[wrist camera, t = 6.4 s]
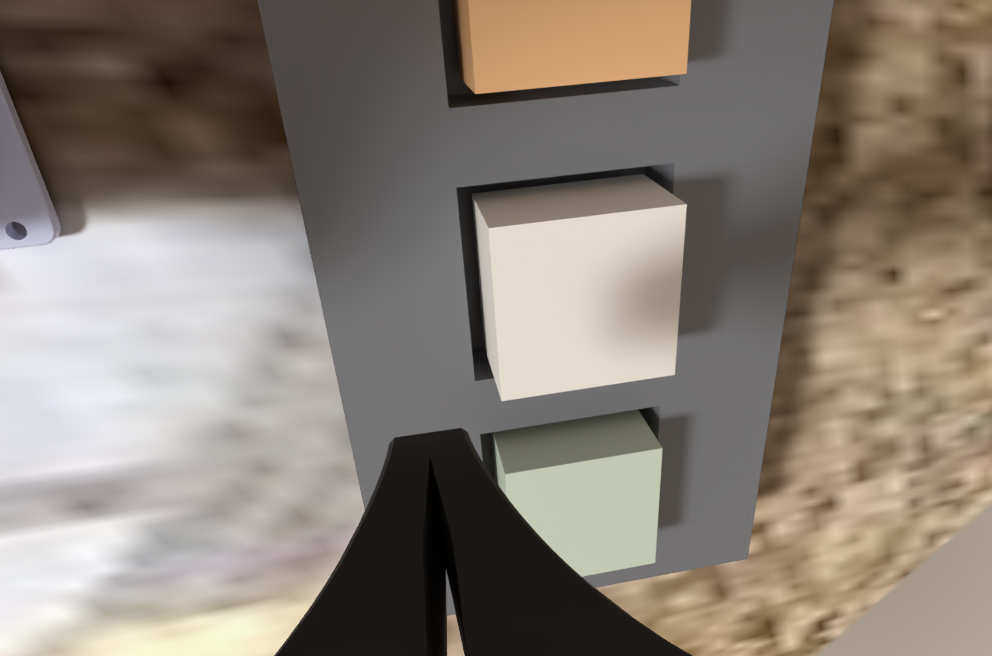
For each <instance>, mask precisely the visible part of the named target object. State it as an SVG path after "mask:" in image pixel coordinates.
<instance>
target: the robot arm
mask: <svg viewBox="0 0 992 656" xmlns="http://www.w3.org/2000/svg"><path fill="white" fill-rule="evenodd" d="M12 222H18V223H20V224H22V225H23V226H24V227H25V228H26V230H27V235H21V234H19V233H17V232H16V231H15V230H14V229H13V227H12ZM60 231H61V227H60V222H59V219H58V217H57V214H56V212H55V209H54V206H53V204H52V201H51V199H50V196H49V194H48V191H47V189H46V186H45V183H44V181H43V178H42V176H41V173H40V171H39V168H38V166H37V163H36V161H35V158H34V155H33V153H32V150H31V148H30V145H29V143H28V140H27V138H26V135H25V132H24V130H23V127H22V125H21V122H20V120H19V117H18V115H17V112H16V110H15V107H14V104H13V102H12V99H11V97H10V94H9V92H8V89H7V87H6V84H5V81H4V79H3V76H2V74H1V71H0V250H5V249H14V248H23V247H31V246H40V245H45V244H48V243H51V242H52V241H53V240H54V239H55V238H56V237H58V236H59V234H60ZM446 571H447V576H448V580H449V585H450V590H451V594H452V599H453V603H454V608H455V613H456V617H457V622H458V626H459V631H460V636H461V640H462V645H463V650H464V654H465V656H692V655H690V654H689V653H687V652H685V651H683V650H682V649H680V648H678V647H677V646H675V645H673V644H671V643H670V642H668V641H667V640H665V639H663V638H662V637H661V636H659V635H658V634H656V633H655V632H653V631H652V630H650V629H649V628H647V627H646V626H644V625H643V624H642V623H640V622H639V621H637V620H636V619H634V618H633V617H631V616H630V615H629V614H628V613H626V612H625V611H624V610H622V609H621V608H620V607H619V606H617V605H616V604H615V603H614V602H612V601H611V600H610V599H608V598H607V597H606V596H605V595H603V594H602V593H601V592H599V591H598V590H597V589H596V588H594V587H593V586H592V585H591V584H589V583H588V582H587V581H586V580H585V579H584V578H583V577H581V576H580V575H579V574H578V573H577V572H576V571H575V570H574V569H572V568H571V567H570V566H569V565H568V564H567V563H566V562H565V561H564V560H563V559H562V558H561V557H560V556H559V555H558V554H557V553H556V552H555V551H554V550H553V549H552V548H551V547H550V546H549V545H548V544H547V543H546V542H545V541H544V540H543V539H542V538H541V537H540V536H539V535H538V534H537V533H536V532H535V530H534V529H533V528H532V527H531V526H530V525H529V523H528V522H527V521H526V520H525V519H524V518H523V517H522V515H521V514H520V513H519V512H518V511H517V509H516V508H515V507H514V506H513V504H512V503H511V502H510V500H509V499H508V498H507V496H506V495H505V494H504V492H503V491H502V490H501V488H500V487H499V486H498V484H497V483H496V482H495V480H494V479H493V477H492V476H491V474H490V473H489V471H488V470H487V468H486V466H485V465H484V463H483V462H482V460H481V458H480V457H479V455H478V453H477V451H476V449H475V448H474V446H473V443H472V441H471V439H470V437H469V434H468V432H467V431H465V430H464V429H463V428H456V429H449V430H442V431H436V432H429V433H422V434H415V435H408V436H401V437H395V438H394V439H393V440H392V441H391V442H390V443H389V447H388V452H387V455H386V459H385V462H384V465H383V468H382V471H381V474H380V476H379V479H378V482H377V484H376V487H375V489H374V492H373V494H372V496H371V498H370V501H369V503H368V505H367V508H366V510H365V512H364V514H363V517H362V519H361V521H360V523H359V525H358V527H357V529H356V531H355V533H354V534H353V536H352V538H351V540H350V542H349V544H348V546H347V548H346V550H345V552H344V554H343V555H342V557H341V559H340V561H339V563H338V564H337V566H336V568H335V569H334V571H333V573H332V574H331V576H330V578H329V579H328V581H327V583H326V584H325V586H324V587H323V589H322V590H321V592H320V593H319V595H318V596H317V598H316V600H315V601H314V603H313V604H312V606H311V607H310V608H309V610H308V611H307V613H306V614H305V615H304V617H303V618H302V619H301V621H300V622H299V624H298V625H297V626H296V628H295V629H294V631H293V632H292V633H291V635H290V636H289V637H288V639H287V640H286V641H285V643H284V644H283V645H282V647H281V648H280V649H279V650H278V652H277V653H276V654H275V655H274V656H447V608H446Z"/></svg>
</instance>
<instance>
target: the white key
mask: <svg viewBox="0 0 992 656" xmlns="http://www.w3.org/2000/svg"><path fill="white" fill-rule="evenodd" d="M472 204H473V216H474V228H475V239H476V251H477V263H478V274H479V286H480V298H481V309H482V321H483V333H484V344H485V351H486V354H487V357H488V360H489V363H490V366H491V370H492V373H493V376H494V379H495V382H496V385H497V388H498V392H499V395H500V398H501V401H507V400H513V399H520V398H526V397H533V396H540V395H546V394H553V393H559V392H566V391H572V390H579V389H585V388H592V387H599V386H605V385H612V384H618V383H625V382H631V381H638V380H644V379H651V378H658V377H664V376H671V375H675V365H676V351H677V337H678V322H679V308H680V294H681V280H682V266H683V252H684V237H685V223H686V209H687V204H686V203H684V202H683V201H681V200H680V199H679V198H677V197H676V196H674V195H673V194H671V193H670V192H668V191H667V190H666V189H664V188H663V187H661V186H660V185H658V184H657V183H655V182H654V181H653V180H651V179H650V178H648V177H647V176H645V175H644V174H639V175H630V176H621V177H612V178H604V179H595V180H586V181H577V182H569V183H560V184H551V185H542V186H534V187H525V188H516V189H508V190H499V191H490V192H481V193H473V194H472Z"/></svg>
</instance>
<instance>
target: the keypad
mask: <svg viewBox="0 0 992 656" xmlns="http://www.w3.org/2000/svg"><path fill="white" fill-rule="evenodd" d="M257 2H258V7H259V12H260V16H261V21H262V26H263V30H264V35H265V40H266V45H267V49H268V54H269V59H270V64H271V68H272V73H273V78H274V82H275V87H276V92H277V97H278V101H279V106H280V111H281V116H282V120H283V125H284V130H285V134H286V139H287V144H288V149H289V153H290V158H291V163H292V168H293V172H294V177H295V182H296V187H297V191H298V196H299V201H300V205H301V210H302V215H303V220H304V224H305V229H306V234H307V239H308V243H309V248H310V253H311V257H312V262H313V267H314V272H315V276H316V281H317V286H318V291H319V295H320V300H321V305H322V309H323V314H324V319H325V324H326V328H327V333H328V338H329V343H330V347H331V352H332V357H333V361H334V366H335V371H336V376H337V380H338V385H339V390H340V395H341V399H342V404H343V409H344V414H345V418H346V423H347V428H348V432H349V437H350V442H351V447H352V451H353V456H354V461H355V466H356V470H357V475H358V480H359V484H360V489H361V494H362V499H363V503H364V508H365V510H366V508H367V505H368V503H369V501H370V498H371V496H372V494H373V492H374V489H375V487H376V484H377V482H378V479H379V476H380V474H381V471H382V468H383V465H384V462H385V459H386V455H387V452H388V447H389V443H390V442H391V441H392V440H393V439H394V438H395V437H401V436H408V435H415V434H422V433H429V432H436V431H442V430H449V429H456V428H463V429H464V430H465V431H467V432H468V434H469V437H470V439H471V441H472V443H473V446H474V448H475V449H476V451H477V453H478V455H479V457H480V458H481V460H482V462H483V463H484V465H485V466H486V468H487V470H488V471H489V473H490V474H491V476H492V477H493V479H494V468H493V456H492V445H491V432H497V431H504V430H510V429H516V428H523V427H529V426H535V425H542V424H548V423H554V422H561V421H567V420H573V419H580V418H586V417H592V416H599V415H605V414H611V413H618V412H624V411H630V410H637V409H638V410H639V412H640V413H641V415H642V417H643V418H644V420H645V421H646V423H647V424H648V426H649V428H650V429H651V431H652V432H653V434H654V435H655V437H656V439H657V440H658V442H659V443H660V445H661V447H662V448H663V449H662V464H661V480H660V496H659V511H658V527H657V542H656V558H655V563H652V564H647V565H641V566H636V567H631V568H625V569H620V570H615V571H609V572H604V573H599V574H593V575H588V576H583V578H584V579H585V580H586V581H587V582H588V583H589V584H591V585H592V586H593V587H594V588H596V587H601V586H607V585H612V584H617V583H623V582H628V581H633V580H638V579H644V578H649V577H654V576H660V575H665V574H670V573H675V572H681V571H686V570H691V569H696V568H702V567H707V566H712V565H718V564H723V563H728V562H733V561H739V560H744V559H747V558H748V552H749V545H750V539H751V533H752V526H753V520H754V513H755V507H756V500H757V494H758V487H759V481H760V474H761V468H762V462H763V455H764V449H765V442H766V436H767V429H768V423H769V416H770V410H771V403H772V397H773V390H774V384H775V378H776V371H777V365H778V358H779V352H780V345H781V339H782V332H783V326H784V319H785V313H786V306H787V300H788V294H789V287H790V281H791V274H792V268H793V261H794V255H795V248H796V242H797V235H798V229H799V223H800V216H801V210H802V203H803V197H804V190H805V184H806V177H807V171H808V164H809V158H810V151H811V145H812V139H813V132H814V126H815V119H816V113H817V106H818V100H819V93H820V87H821V80H822V74H823V67H824V61H825V55H826V48H827V42H828V35H829V29H830V22H831V16H832V9H833V3H834V0H691V13H690V28H689V44H688V59H687V74H679V75H669V76H658V77H648V78H638V79H627V80H617V81H607V82H596V83H586V84H576V85H565V86H555V87H545V88H534V89H524V90H514V91H503V92H493V93H483V94H475V93H474V92H473V91H472V90H471V89H470V88H469V87H468V86H467V85H466V84H465V83H464V82H463V81H462V80H461V79H460V78H459V66H458V55H457V43H456V32H455V21H454V9H453V0H257ZM639 174H644V175H645V176H647V177H648V178H650V179H651V180H653V181H654V182H655V183H657V184H658V185H660V186H661V187H663V188H664V189H666V190H667V191H668V192H670V193H671V194H673V195H674V196H676V197H677V198H679V199H680V200H681V201H683V202H684V203H686V204H687V209H686V223H685V237H684V252H683V266H682V280H681V294H680V308H679V322H678V337H677V351H676V365H675V375H671V376H664V377H658V378H651V379H644V380H638V381H631V382H625V383H618V384H612V385H605V386H599V387H592V388H585V389H579V390H572V391H566V392H559V393H553V394H546V395H540V396H533V397H526V398H520V399H513V400H507V401H501V398H500V395H499V392H498V388H497V385H496V382H495V379H494V376H493V373H492V370H491V366H490V363H489V360H488V357H487V354H486V351H485V344H484V333H483V321H482V309H481V298H480V286H479V274H478V263H477V251H476V239H475V228H474V216H473V204H472V194H473V193H481V192H490V191H499V190H508V189H516V188H525V187H534V186H542V185H551V184H560V183H569V182H577V181H586V180H595V179H604V178H612V177H621V176H630V175H639ZM494 480H495V479H494ZM446 608H447V616H448V615H454V614H456V613H455V608H454V603H453V599H452V594H451V590H450V585H449V580H448V576H447V571H446Z"/></svg>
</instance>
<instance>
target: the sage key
mask: <svg viewBox="0 0 992 656" xmlns="http://www.w3.org/2000/svg"><path fill="white" fill-rule="evenodd" d="M491 445H492V456H493V468H494V479H495V482H496V483H497V484H498V486H499V487H500V488H501V490H502V491H503V492H504V494H505V495H506V496H507V498H508V499H509V500H510V502H511V503H512V504H513V506H514V507H515V508H516V509H517V511H518V512H519V513H520V514H521V515H522V517H523V518H524V519H525V520H526V521H527V522H528V523H529V525H530V526H531V527H532V528H533V529H534V530H535V532H536V533H537V534H538V535H539V536H540V537H541V538H542V539H543V540H544V541H545V542H546V543H547V544H548V545H549V546H550V547H551V548H552V549H553V550H554V551H555V552H556V553H557V554H558V555H559V556H560V557H561V558H562V559H563V560H564V561H565V562H566V563H567V564H568V565H569V566H570V567H571V568H572V569H574V570H575V571H576V572H577V573H578V574H579V575H580V576H581V577H583V576H588V575H593V574H599V573H604V572H609V571H615V570H620V569H625V568H631V567H636V566H641V565H647V564H652V563H655V558H656V542H657V527H658V511H659V496H660V480H661V464H662V449H663V448H662V447H661V445H660V443H659V442H658V440H657V439H656V437H655V435H654V434H653V432H652V431H651V429H650V428H649V426H648V424H647V423H646V421H645V420H644V418H643V417H642V415H641V413H640V412H639V410H638V409H637V410H630V411H624V412H618V413H611V414H605V415H599V416H592V417H586V418H580V419H573V420H567V421H561V422H554V423H548V424H542V425H535V426H529V427H523V428H516V429H510V430H504V431H497V432H491Z"/></svg>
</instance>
